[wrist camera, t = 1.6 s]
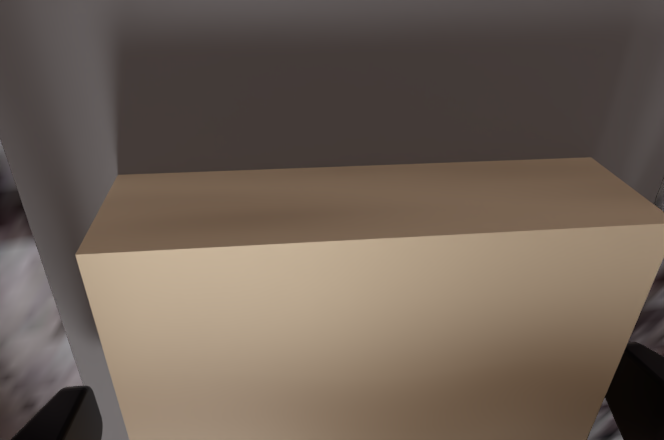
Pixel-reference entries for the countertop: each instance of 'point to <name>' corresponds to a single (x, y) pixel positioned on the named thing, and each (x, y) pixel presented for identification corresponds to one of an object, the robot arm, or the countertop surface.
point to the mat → (307, 101)
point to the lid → (369, 299)
